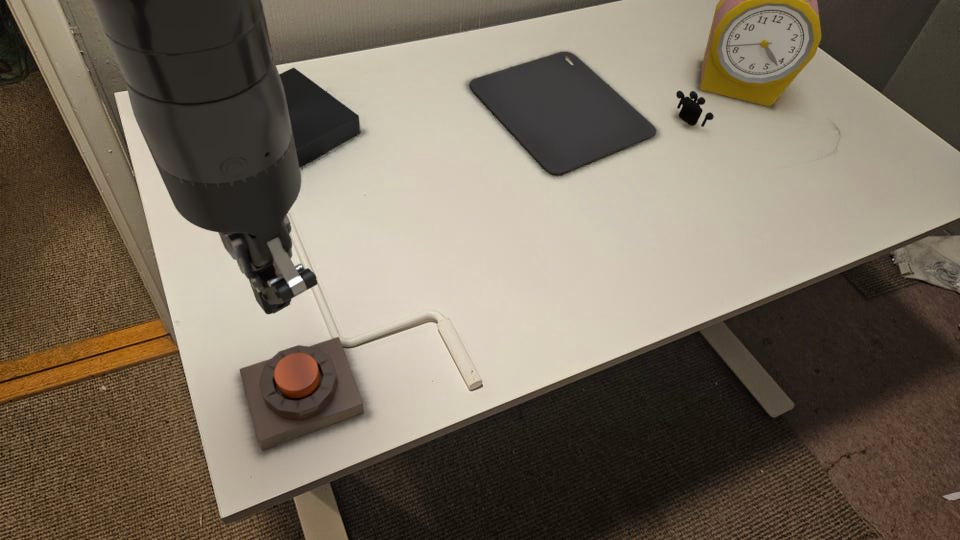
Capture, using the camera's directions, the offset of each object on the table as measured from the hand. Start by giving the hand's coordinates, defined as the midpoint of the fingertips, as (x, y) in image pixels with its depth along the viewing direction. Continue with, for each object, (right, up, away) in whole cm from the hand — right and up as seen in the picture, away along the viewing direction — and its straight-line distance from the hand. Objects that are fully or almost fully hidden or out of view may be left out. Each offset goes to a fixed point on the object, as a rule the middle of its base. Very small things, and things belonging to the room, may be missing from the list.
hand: (274, 302), depth 48 cm
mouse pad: (+28, +27, +45) cm, 59 cm away
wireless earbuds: (+47, +25, +46) cm, 70 cm away
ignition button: (-1, -8, +11) cm, 13 cm away
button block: (-2, -10, +14) cm, 17 cm away
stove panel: (-12, +20, +34) cm, 41 cm away
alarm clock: (+58, +33, +53) cm, 85 cm away
